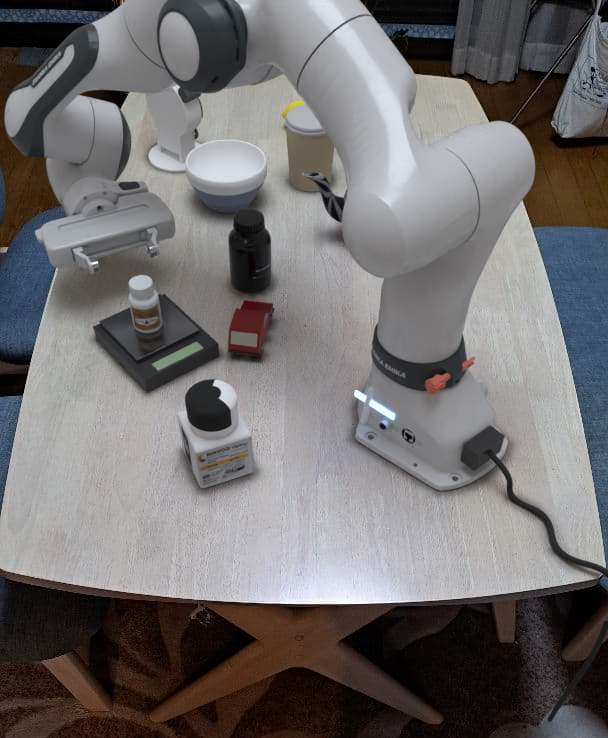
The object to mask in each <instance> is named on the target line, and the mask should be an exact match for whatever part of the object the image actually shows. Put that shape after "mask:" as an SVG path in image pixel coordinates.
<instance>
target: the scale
mask: <svg viewBox="0 0 608 738" xmlns="http://www.w3.org/2000/svg"><path fill="white" fill-rule="evenodd" d="M157 294H158V297H159V302H160V309H161V315H162V322H163V323H162V326H161V328H160V329H159V330H157V331H156V332H153V333H141V332H139V331H137V330H136V329H135V327H134V325H133V319H132V314H131V309H130V306H129V307H127V308H125V309H122V310H121V311H119V312H116V313H114V314H112V315H110V316H108V317H105V318H103V319H102V320H99V321H98V322H99V323H98V324H97V323H96V325H93V326H92V328H93V333H94V336H95V340H96V341H97V342H98V343H99V344H100V345H101V346H102V347H103V348H104V349H105V351H107V352H108V353H109V354H110V355H111V357H112V358H114V360H115V361H116V362H117V363H118V364H119V365H120V366H121V367H122V368H123V369H124V370H125V371H126V372H127V373H128V374H129V375H130V376H131V377H132V378H133V379H134V380H135V382H137V383H138V384H139V385H140V386H141V387H142V389H144V391H145V392H146V393H150V392H152V391H153V390H155V389H157V388H159V387H162V386H163V385H165V384H167V383H169V382H172V380H175V379H177V378H179V377H181V376H183V375H185V374H187V373H189V372H191V371H192V370H195V369H197V368H199V367H200V366H202V365H204V364H206V363H208V362H210V361H212V360H214V359H216V358H218V357H220V356H221V355H220V347H219V342H218V341H216V340H215V339H214V338H213V336H211V335H210V334H209V333H208V332H207V331H206V330H204V329H203V328H202V327H201V326H200V325H199V324H198V323H197V322H196V321H195V320H194V319H193V318H191V317H190V316H189V315H188V314H187V313H186V312H185V311H184V310H183V309H182V308H181V307H180V306H179V305H178V304H176V302H174V300H172V299H171V298H170V297H169V296H168V295H166V293H163V294H161V293H157Z"/></svg>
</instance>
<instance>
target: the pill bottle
mask: <svg viewBox="0 0 608 738" xmlns="http://www.w3.org/2000/svg"><path fill="white" fill-rule="evenodd" d="M128 288H129V292H130V293H129V295H128V304H129V307H130V309H131V314H132V319H133V325H134V327H135V329H136V330H137V331H139V332H141V333H153V332H156V331H157V330H159V329H160V328H161V326H162V323H163V322H162V315H161V309H160V302H159V297H158V294H159V293H158V292H157V291H156V290H155V287H154V283H153V279H152V277H150V276H148V275H146V274H139V275H135V276H133V277H132V278H130V279H129V281H128Z"/></svg>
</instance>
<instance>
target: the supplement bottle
mask: <svg viewBox="0 0 608 738" xmlns="http://www.w3.org/2000/svg"><path fill="white" fill-rule="evenodd" d="M227 243H228V245H227V246H228V261H229V275H230V283H231V286H232V287H233V288H234V289H235V290H236V291H238V292H240V293H242V294H247V295H254V294H255V295H256V294H260V293H263V292H265V291H266V290H267V289H268V288H269V287H270V286H271V283H272V236H271V234H270V232H269V230H268V229H267V228H266V223H265V215H264V213H263V212H262V211H260V210H258V209H255V208H245V209H243V210H240V211H237V212H234V215H233V224H232V229H231V230H230V232H229V234H228V237H227Z"/></svg>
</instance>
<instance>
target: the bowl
mask: <svg viewBox="0 0 608 738" xmlns="http://www.w3.org/2000/svg"><path fill="white" fill-rule="evenodd" d="M200 144H201V145H199V146H197V147H196V148H194V149H193V150H192V151H191V152H190V153H189V154H188V155H187V157H186V162H185V170H186V171H185V175H186V178H187V181H188V183H189V184H190V186H191V187H192V190H193V191H195V192H196V194H197V196H198V197H199V198H200V199H201V200H202V201H203V202H204V203H205V205H206V206H207V207H208V208H209V209H211V210H213V211H216V212H219V213H236V212H238V211H240V210H243V209H248V207H250V205H251V204H252V203H253V201H254V199H255V198H256V197H257V195H258V194H259V193H260V190H261V188H262V187H263V185H264V184H265V180H266V179H267V176H268V160H267V156H266V154H265V153H264V151H263V150H262V149H261V148H259V147H258V146H256V145H255V144H253V143H250V142H247V141H244V140H239V139H229V138H228V139H227V138H226V139H215V140H210V141H207V142H204V143H200Z"/></svg>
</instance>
